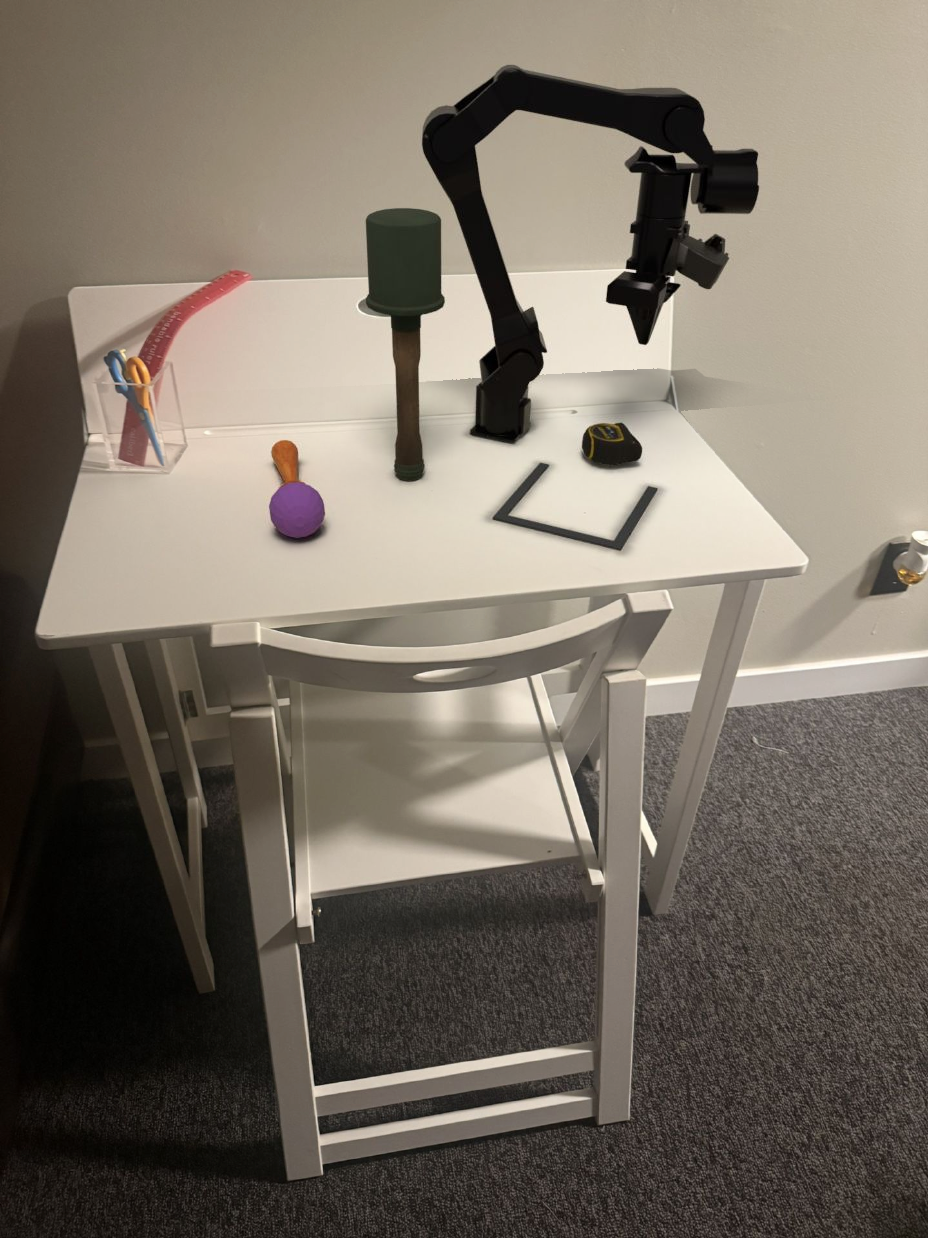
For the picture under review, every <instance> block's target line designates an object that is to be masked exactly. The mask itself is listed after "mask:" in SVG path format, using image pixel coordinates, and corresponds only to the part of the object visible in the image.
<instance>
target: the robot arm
mask: <svg viewBox="0 0 928 1238" xmlns="http://www.w3.org/2000/svg"><path fill="white" fill-rule="evenodd" d="M516 111H521V112H522V111H523V112H526V113H531V114H536V115H542V116H547V117H552V118H556V119H563V120H567V121H572V122H578V123H583V124H586V125H587V124H588V125H593V126H597V127H602V128H607V129H612V130H617V131H619V132H621V133H624V134H625V135H628V136H630V137H632V138H634V139H636V140H638V141H641V142H643V143H645V144H647V145H650V146H652V147H654V148H657V149H659V150H661V151H664V152H666V153H668V154H653V153H652V154H651V153H649V152H648V151H647V149H646V148H645V147H644V146H639V147H638V149H637V150H636V152H635V153H633V154H632V155H631V156H630V157H629V158H627V159H626V160H625V161H624V167H625V168H626V170H627V171H629V173H631V174H640V181H639V189H638V195H637V196H638V198H637V206H636V213H635V220H634V221H632V223H630V226H629V227H630V228H629V234H633V239H632V245H631V246H632V247H631V249H632V250H631V256H630V257H629V258H627V259H626V262H625V270H624V271H623V272H621V273H620V274H619V275H618V276H617V277H615V278H614V279H613V280H612V281H611V282H610V283H608V284H607V286H606V295H605V303H607V304H610V305H616V306H622V307H626V309H627V312H628V315H629V318H630V321H631V324H632V327H633V330H634V334H635V337H636V339H637V343H638V344H639V345H642V346H647V345H648V344H649V342H650V340H651V337H652V335H653V332H654V330H655V327H656V325H657V322H658V319H659V316H660V313H661V311H662V308H663V307H664V304H665V303H666V302H668V301H669V300H670V298H671V297H672V296H673V295H674V294H675V293H676V292H677V291H678V290H679V288H681V286H682V284H681V283H677V282H671V277H675V276H676V272H677V273H679V274H680V275H682V276H684V277H685V278H688V279H689V280H691V281H693V282H695V283H696V284H697V285H698V287H700V288H703V289H705V290H711V289H713V286H715V284H716V283H717V281H718V280H719V278H720V277H721V274H722V272H723V271H724V269H725V267H726V265H727V264H728V262H729V260H730V257H729V253H728V252H726V238H725V237H723V236H720V235H719V234H717V233H714V234H713V235H711V236H710V237H709V238H707V239H706V240H704V241H703V238H698V239H697V238H695V237H693V236H691V235H690V230H691V224H689V220H686V215H687V208H688V202H689V195H690V203H691V204H692V205H697V209H698V212H699V214H700V215H701V214H702V215H750V214H751V213H752V212H753V210H754V208H755V207H756V203H757V200H758V197H759V191H760V185H759V166H758V159H759V152H758V151H757V150H755V149H754V148H740V149H734V150H733V149H732V150H731V149H729V150H728V149H725V150H724V149H723V150H722V149H721V150H720V149H716V150H715V149H713V147H714V146H713V145H712V144H711V143H710V142H711V141H710V140H709V139H708V136H707V135H706V132H705V131H704V127H705V122H706V119H705V118H706V117H705V110H704V108H703V106H702V104H701V102H700V101H699V99H697V98H696V97H694V96H692V95H691V94H689V93H687V92H686V91H684V90H682V89H680V88H678V87H638V88H637V87H636V88H617V87H611V86H606V85H601V84H596V83H591V82H586V81H582V80H577V79H573V78H572V79H571V78H567V77H562V76H559V75H552V74H547V73H543V72H538V71H533V70H528V69H524V68H521V67H520V66H518V65H516V64H505V65H504V66H501V67H499V69H498V70H497V71H496V72H495V74H493V75H492V76H491V77H490V78H488V79H487V80H486V81H485V82H483V83H481V84H480V85H478V86H477V87H476V88H475V89H473V90H472V91H470V92H469V93H468V94H466V95H465V96H464V97H462V98H461V99H460V100H458V101H457V102H456V103H455V104H453V105H448V104H446V105H441V106H437V107H436V108H434V109H432V110H431V112H430V113H429V114H428V115H427V116H426V117H425V120H424V123H423V125H422V130H421V131H422V134H421V135H422V136H421V137H422V138H421V147H422V152H423V155H424V157H425V159H426V161H427V163H428V165H429V167H430V168H431V170H432V173H433V174H434V175H435V178H436V179H437V181H438V183H439V185H440V187H441V188H442V190H443V191H444V193H445V194H446V196H447V198H448V199H449V201H450V203H451V205H452V207H453V209H454V213H455V215H456V219H457V221H458V224H459V226H460V230H461V233H462V236H463V240H464V241H465V245H466V248H467V250H468V253H469V256H470V260H471V262H472V266H473V268H474V271H475V274H476V277H477V280H478V283H479V285H480V288H481V292H482V295H483V297H484V301H485V303H486V306H487V310H488V312H489V315H490V320H491V328H492V335H493V340H494V346H493V347H492V348H490V350H488V352H486V353H485V354H484V355H483V356H482V357H481V358H480V359H479V361H478V363H479V370H480V371H479V372H480V379H481V380H480V381H481V382H479V383H478V384H477V385H476V386H475V412H474V413H475V416H474V417H475V419H474V426H472V427H471V428H470V429H469V434H470V435H472V436H477V437H482V438H487V439H490V440H491V439H492V440H496V441H501V442H506V443H511V444H513V443H516V442H517V441H518V439H519V438H520V437H522V435H524V433H526V432H527V431H528V429H529V428H530V427H531V425H532V423H531V412H532V409H531V408H532V399H531V398H529V384H530V383H531V382H533V381H534V380H536V379H537V378H538V377H539V376H540V374H541V372H542V371H543V369H544V365H545V360H544V355H543V353H544V354H547V353H548V350H547V346H546V341H545V339H544V335H543V333H542V331H541V330H540V327H539V321H538V318H537V315H536V310H535V307H534V306H531V307H528V308H527V309H525V310H524V309H523V308H522V305H521V304H520V302H519V301H518V299H517V296H516V294H515V290H514V288H513V285H512V282H511V279H510V275H509V271H508V268H507V265H506V263H505V260H504V256H503V254H502V250H501V247H500V244H499V241H498V238H497V233H496V231H495V228H494V225H493V222H492V218H491V216H490V213H489V210H488V207H487V203H486V201H485V200H486V199H485V197H484V194H483V191H482V185H481V178H480V170H479V163H478V156H477V150H476V146H477V145H478V144H479V143H480V142H482V141H483V140H484V139H485V138H486V137H488V136H489V135H490V134H491V133H492V132H493V131H494V130H495V129H496V128H498V127H499V126H500V125H501V124H502V123H503V122H504V121H505V120H507V118H508V117H509V116H511V115H512V114H513V113H514V112H516ZM682 153H683V154H684V155H686V156H687V158H689V159H690V160H692V161H693V162H694V163H693V162H692V163H691V162H690V163H689V162H688V163H687V162H686V163H685V162H677V159H676V156H675V155H674V154H682ZM626 270H630V271H626ZM634 271H635V272H634Z"/></svg>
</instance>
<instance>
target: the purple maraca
mask: <svg viewBox="0 0 928 1238" xmlns="http://www.w3.org/2000/svg"><path fill="white" fill-rule="evenodd" d="M270 453H271V458H272V460H273V462H274V464H275V466H276V468H277V470H278V472H279V474H280V475H281V478H282V480H283V481H284V483H282V484H281V485H280V486H279V487H278V488H277V490H276V491H275V492H274V493H273V494H272V496H271V498H270V501H269V505H268V509H269V517H270V521H271V523H272V525H273V526H274V528H275V529H276V530H277V531H279V532H280V533H282V534H283V535H285V536H287V537H291V538H294V539H299V538H306V537H309V536H310V535H312V534H314V533H315V532H316V531H317V530H318V529H319V528H320V527H321V525H323V522H324V520H325V516H326V509H325V503H324V499H323V498H322V496H321V494H320V492H319V491H318V490H317V489H315V488H314V487H312V486H311V485H310V484H306V482H304V481H300V480H298V468H299V467H298V466H299V450H298V446H297V445H296V444H295V443H294V442H293V441H291V440H287V439H283V440H278V441H277V442H275V443H274V444H273V445H272V447H271V450H270Z"/></svg>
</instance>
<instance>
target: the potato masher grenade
mask: <svg viewBox="0 0 928 1238" xmlns="http://www.w3.org/2000/svg"><path fill="white" fill-rule="evenodd" d="M365 237H366V239H365V240H366V258H367V259H366V261H367V281H368V282H367V283H368V294H367V295H366V297H365V304H366V306H367V308H368V309H370V310H372V311H374V313H378V314H383V315H387V316H390V328H391V345H392V359H393V364H394V372H395V401H396V430H397V431H396V432H397V433H396V439H395V444H394V454H395V456H394V458H395V459H394V464H393V468H394V473H395V474H396V477H397V478H399V479H400V480H402V481H407V482H408V481H409V482H412V481H417V480H419V479H420V478H421V477H422V476H423V474H424V472H425V460H424V458H423V457H424V454H423V452H424V449H423V442H422V436H421V432H420V431H421V430H420V371H419V370H420V361H421V356H422V355H421V351H422V350H421V347H422V346H421V328H422V316H423V315H428V314H432V313H436V312H437V311H439V310H441V309H443V308H444V307H445V306H444V305H445V303H446V299H445V296H444V295H443V294H442V218H441V216H439V214H438V213H435V212H433V211H430V210H428V209H427V210H426V209H421V208H413V207H411V208H410V207H394V208H384V209H380V210H376V211H373V212H371V213H369V214H368V215H367V216H366V218H365Z"/></svg>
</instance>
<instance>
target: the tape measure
mask: <svg viewBox="0 0 928 1238" xmlns="http://www.w3.org/2000/svg"><path fill="white" fill-rule="evenodd" d="M581 449H582V453H583V455H584V456H585V457H586V458H587V459H588V460H590V462H591V461H592V462H593V463H596V464H599V465H602V466H603V465H604V466H612V467H613V466H618V465H624V464H629V463H635V462H638V461H639V460H640V459H641V458H642V455H643V446H642V444H641V442H640V441H639V440H638V439H637V438H636V437H635V436H634V434H632V433H631V431H630V429H629V428H628V426H627V425H626V424H625V423H623V422H616V423H608V422H600V423H595V424H592V425H590V426H587V428H586V430H585V431H584V433H583V436H582V440H581Z"/></svg>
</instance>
